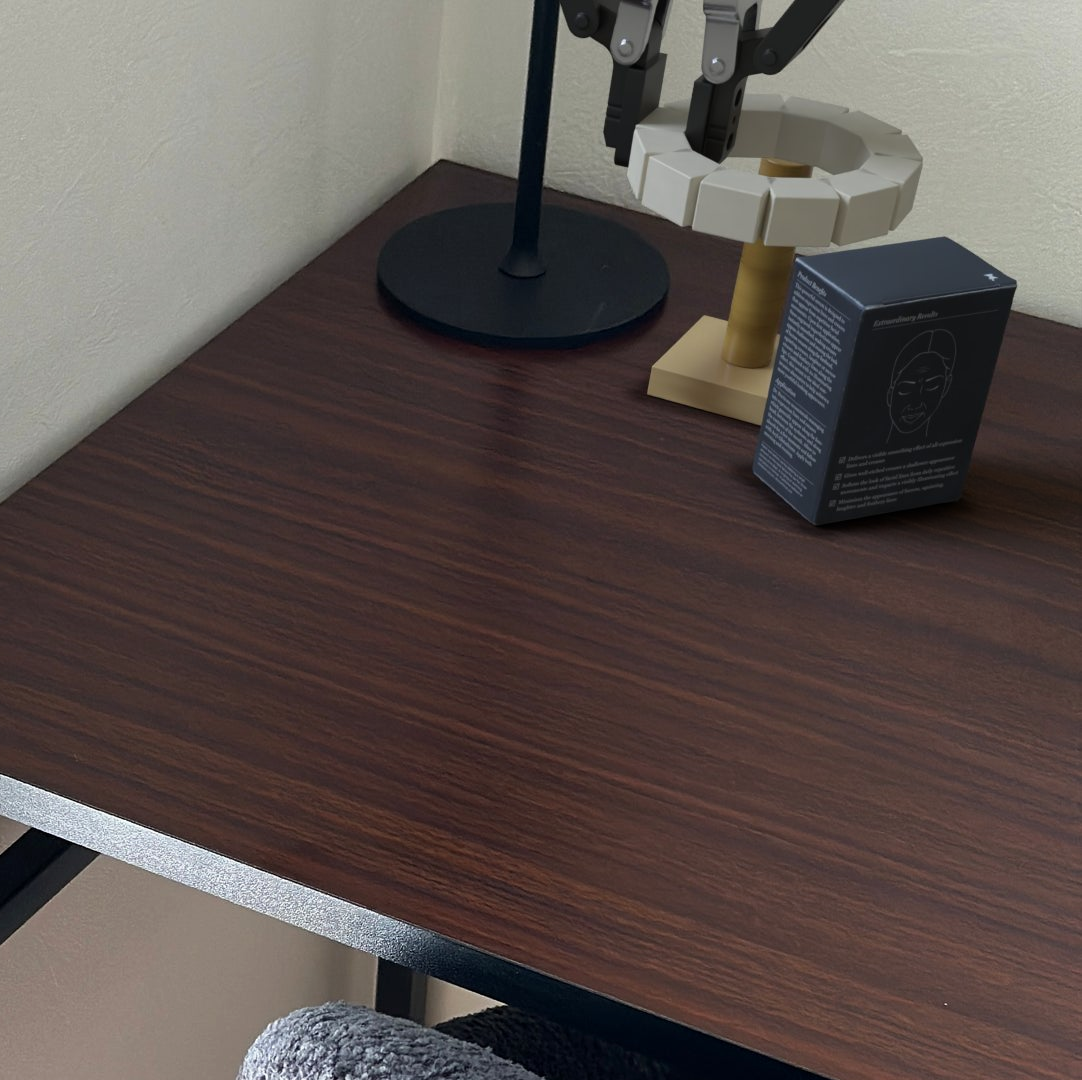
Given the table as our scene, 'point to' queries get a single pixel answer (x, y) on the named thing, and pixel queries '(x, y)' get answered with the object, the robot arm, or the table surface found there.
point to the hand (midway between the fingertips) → (663, 165)
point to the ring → (770, 202)
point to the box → (881, 378)
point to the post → (735, 333)
